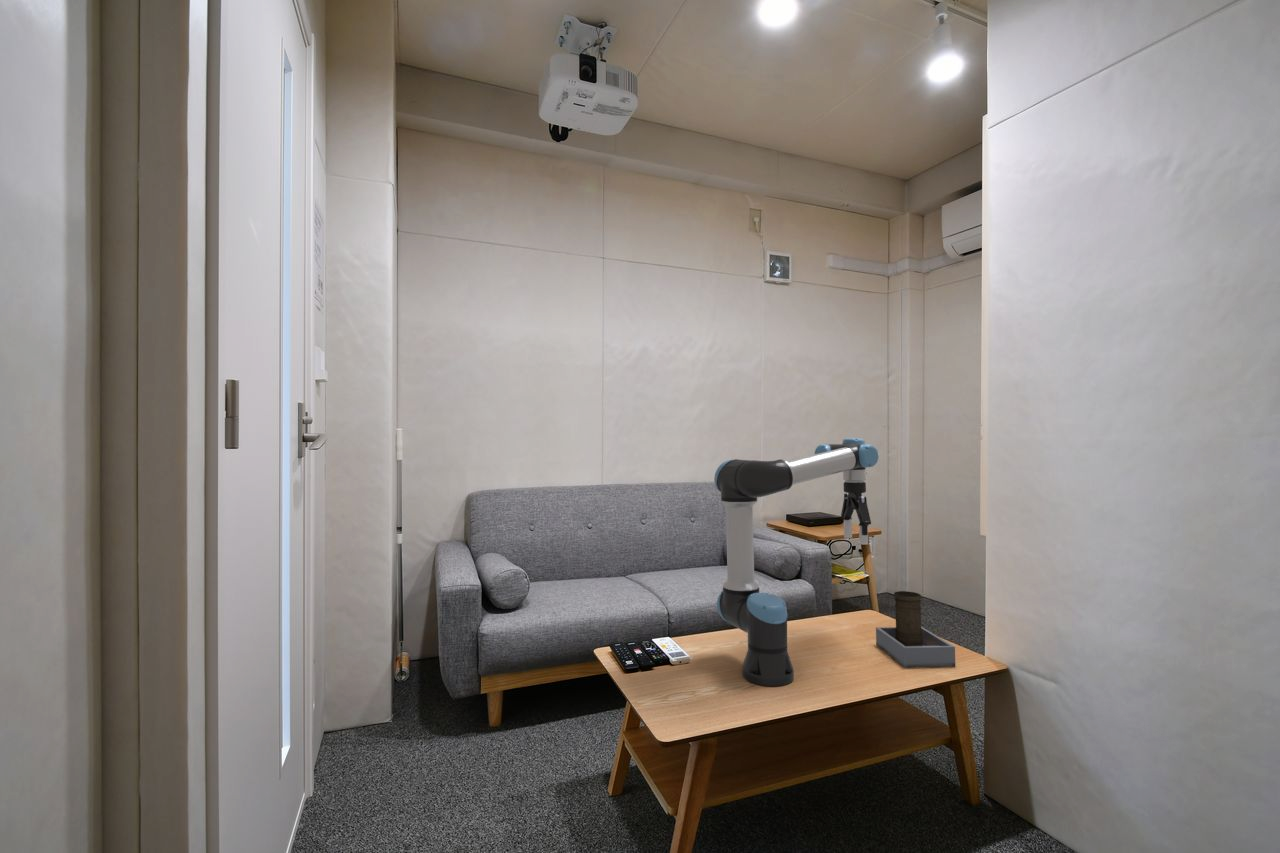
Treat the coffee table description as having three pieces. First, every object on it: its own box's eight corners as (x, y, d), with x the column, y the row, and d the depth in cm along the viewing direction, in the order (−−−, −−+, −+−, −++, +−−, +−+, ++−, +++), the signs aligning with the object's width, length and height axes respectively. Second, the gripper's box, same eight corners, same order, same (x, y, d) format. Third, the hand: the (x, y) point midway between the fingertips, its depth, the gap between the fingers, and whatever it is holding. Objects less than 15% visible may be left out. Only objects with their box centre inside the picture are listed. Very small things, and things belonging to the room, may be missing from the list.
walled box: (904, 667, 178) (904, 648, 178) (876, 644, 198) (875, 627, 198) (955, 666, 179) (955, 646, 179) (921, 643, 199) (921, 626, 199)
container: (920, 655, 185) (919, 599, 186) (891, 649, 191) (890, 594, 191) (926, 647, 193) (925, 593, 193) (898, 641, 198) (896, 589, 198)
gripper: (880, 483, 193) (882, 547, 193) (850, 479, 218) (851, 535, 218) (858, 484, 193) (859, 547, 193) (831, 479, 218) (832, 535, 217)
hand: (855, 541), depth 205 cm, fingers open, 13 cm apart
